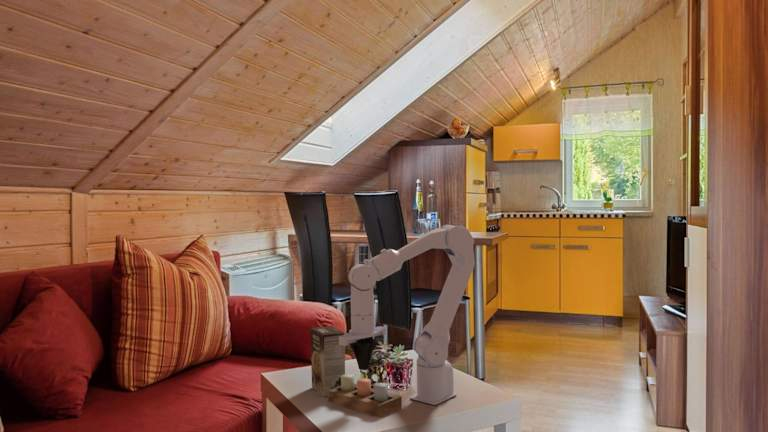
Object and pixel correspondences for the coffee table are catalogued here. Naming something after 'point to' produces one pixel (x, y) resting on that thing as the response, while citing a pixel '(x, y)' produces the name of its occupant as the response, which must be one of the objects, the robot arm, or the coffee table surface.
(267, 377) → the coffee table surface
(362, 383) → the orange egg
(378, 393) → the white egg
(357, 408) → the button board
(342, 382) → the pale green egg
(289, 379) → the coffee table surface
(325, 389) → the coffee box
